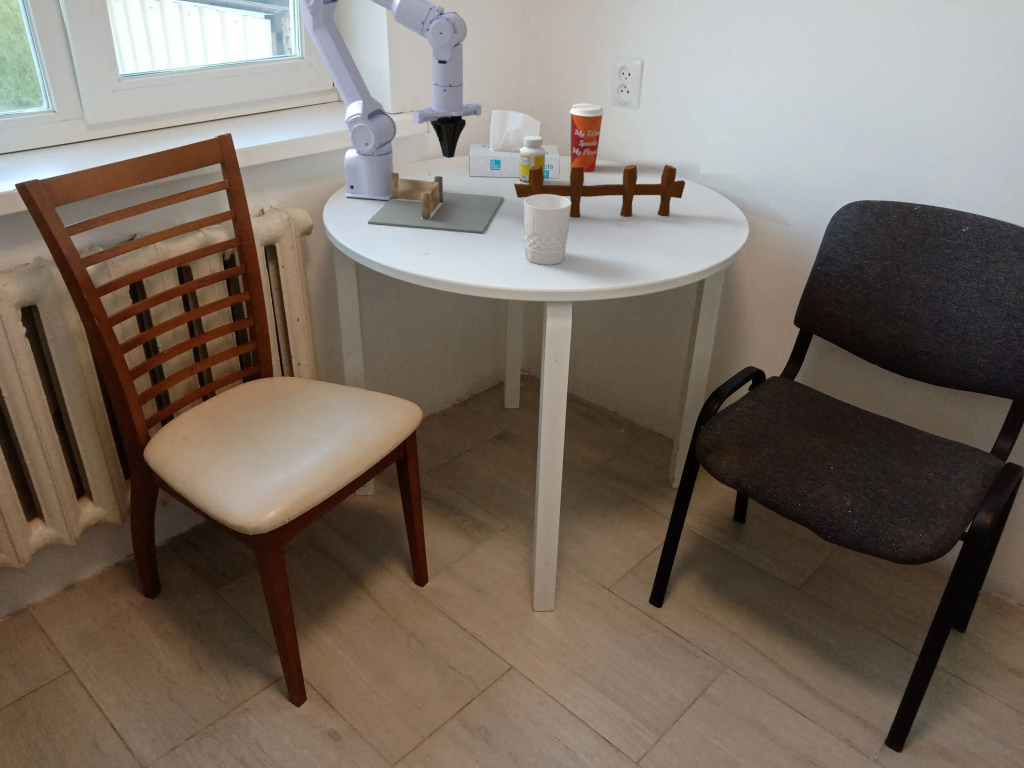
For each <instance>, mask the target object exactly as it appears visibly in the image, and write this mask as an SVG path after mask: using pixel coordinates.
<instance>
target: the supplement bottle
mask: <svg viewBox="0 0 1024 768" xmlns="http://www.w3.org/2000/svg"><path fill="white" fill-rule="evenodd" d="M542 145H543V137H542V136H539V135H525V136H524V137H523V146H522V147H521V148H520V150H519V151H520V152H519V184H528V185H529V169H530V168H531V167H534V166H537V165H539V166H542V169H543V176H544V177H545V163H546V162H545V161H546V160H545V159H546V151H545V148H544V147H542ZM544 182H545V179H544V180H543V184H544Z"/></svg>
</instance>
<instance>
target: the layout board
mask: <svg viewBox="0 0 1024 768" xmlns="http://www.w3.org/2000/svg"><path fill="white" fill-rule="evenodd" d="M503 199H504V196H497V195H487V194H486V195H485V194H484V195H483V194H473V193H461V192H449V191H447V192H446V191H443V202H442V203H439V204H438V205H437V206H436V207H435V209H434V210H433V211H432V212H431V214H430V218H428V219H424V218H422V209H421V201H418V200H405V199H392V198H391V199H390V200H387V202H385V204H384V205H382V207H381V208H379V210H378V211H376V212H375V214H373V216H371V218H369V219H368V220H367V224H369V225H370V224H372V225H379V226H380V225H382V226H391V227H392V226H393V227H404V228H414V229H415V228H416V229H424V230H425V229H427V230H439V231H449V232H459V233H471V234H472V233H473V234H481V235H482V234H483V233H484V232H485V231H486V228H487V227H488V226H489V223H490V222H491V220H492V219H493V217H494V215H495V213H496V212H497V209H498V208H499V206H500V205H501V203H502V202H503Z"/></svg>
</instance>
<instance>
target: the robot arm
mask: <svg viewBox="0 0 1024 768" xmlns="http://www.w3.org/2000/svg"><path fill="white" fill-rule="evenodd" d="M298 1H299V10H300V11H299V12H300V17H301V21H302V23H303V25H304V27H305V29H306V30H307V33H308V35H309V37H310V39H311V40H312V42H313V45H314V46H315V48H316V50H317V52H318V54H319V56H320V59H321V61H322V63H323V65H324V66H325V67H324V68H326V70H327V72H328V74H329V77H330V78H331V80H332V83H333V85H334V86H335V88H336V90H337V92H338V94H339V96H340V98H341V100H342V102H343V104H344V106H345V109H346V112H345V118H344V122H345V125H346V126H347V129H348V137H349V141H350V144H351V145H352V147H353V148H349V149H347V151H346V153H345V156H344V161H343V162H344V164H343V165H344V166H343V167H344V178H345V191H346V193H345V197H346V198H358V199H368V200H369V199H371V200H380V201H381V200H382V201H389V200H390V199H391V198H392V190H391V173H394V157H393V156H394V155H393V146H392V141H394V139H395V137H396V136H397V125H396V121H395V120H394V118H393V117H392V116H391V115H390V114H388V112H386V110H385V109H384V107H383V105H382V103H380V102H379V101H378V100H377V99H375V98H374V97H372V95H371V93H370V91H369V89H368V87H367V85H366V83H365V81H364V79H363V76H362V75H361V72H360V70H359V69H358V66H357V65H356V62H355V60H354V59H353V56H352V54H351V52H350V50H349V48H348V46H347V44H346V42H345V40H344V38H343V36H342V34H341V31H340V29H339V28H338V26H337V23H336V21H335V20H334V13H335V11H336V7H337V5H338V2H339V1H340V0H298ZM369 1H370V2H372V3H374V4H377V5H379V6H380V7H382V8H384V9H386V10H389V11H390V12H391V13H392V17H393V18H394V21H395V22H396V23H398V24H399V25H401V26H404V27H405V28H407V29H408V30H410V31H412V32H414V33H416V34H417V35H419V36H421V37H423V38H424V39H427V42H428V43H429V45H430V46H431V56H432V57H431V66H432V67H431V70H432V71H431V74H432V78H431V79H432V85H431V86H432V106H431V107H430V106H429V107H427V108H423V109H419V110H413V111H412V121H413V123H415V124H418V125H420V124H424V123H427V122H430V125H431V127H432V128H433V130H434V131H435V134H436V137H437V139H438V141H439V145H440V146H439V147H440V149H441V154H442V157H444V158H448V159H451V158H454V157H455V154H456V149H457V145H458V142H459V139H460V137H461V134H462V132H463V131H464V128H465V127H466V124H467V123H466V119H464V117H470V116H477V117H478V116H482V104H479V103H464V62H463V61H464V57H463V56H464V55H463V42H464V41H465V39H466V37H467V34H468V28H467V24H466V21H465V20H464V18H463V17H462V16H461V15H460V14H459V13H458V12H456V11H451V10H450V11H447V12H445V7H444V6H443V5H437V6H436V5H435V4H433V3H432V2H430V1H428V0H369Z"/></svg>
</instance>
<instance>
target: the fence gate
mask: <svg viewBox="0 0 1024 768" xmlns="http://www.w3.org/2000/svg"><path fill="white" fill-rule="evenodd" d="M439 202H440V201H439V183H438V182H435V183H434V184H433V185H432V187H431V188H430V189H429V190H428V191H427V192H423V193H421V209H422V218H424V219H428V218H430V214H431V212H432V211H433V210H434V209H435V207H436V206H437V205H438V204H439Z"/></svg>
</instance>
